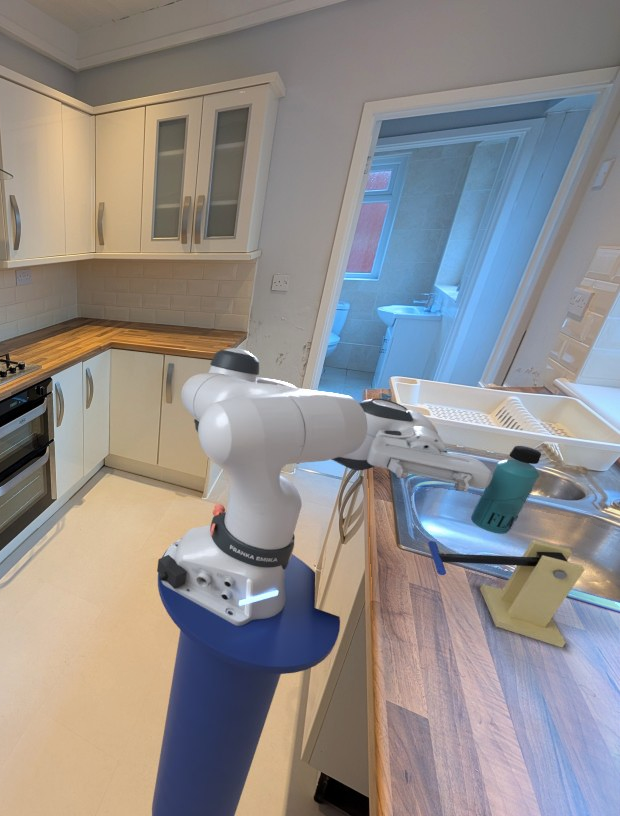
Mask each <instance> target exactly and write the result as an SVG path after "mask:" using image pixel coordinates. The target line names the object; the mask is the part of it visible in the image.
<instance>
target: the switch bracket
mask: <svg viewBox="0 0 620 816" xmlns="http://www.w3.org/2000/svg"><path fill="white" fill-rule="evenodd" d="M537 552H560V553H562V554H563V555H564V557H565V558H566V560H567V561H568V560H569V558H570V557H571V555H573V551H572V550H571V549H570V548H569V547H565V546H559V545H556V544H553V543H552V544H551V543H547V542H543V541H540V540H535V539H531V541H530V543H529V545H528V546H527V548H526V550H525V551H524V553H523V555H522V556H521V557H537ZM567 561H563V560H559V559H555V558H551V557H547V556H542V557H541V559H540V560H539V562H538V564H537V565H536V566H515V568H514V570H513V571H512V573H511V575H510V577H509V578H508V580H507V582H506V583H505V585H504V587H503V588H497V587H495V586H491V585H487V584H484V583H482V584H481V586H480V587H479V590H480V593H481V595H482V597H483V599H484V602H485V604H486V606H487V609H488V611H489V613H490V617H491V618H492V621H493V623H494V626H495V627H497V628H500V629H501V630H505V631H509V632H512V633H515V634H518V635H522V636H524V637H527V638H530V639H533V640H536V641H540V642H544V643H546V644H550V645H552V646H556V647H559V648H563V647H564V646H565V645H566V644H567V642H566V640H565V638H564V637H563V635H562V633H561V631H560V630H559V628H558V626H557V624H556V623H555V621H554V620H553V617H554V615H556V612H557V611H558V609H559V607H561V605H562V604H563V602H564V600H566V598H567V596H568V595H569V593H570V592H571V591H572V589H573V588H574V586H575V585H576V583H577V582H578V581H579V579H580V577H581V576H582V575H583V573H584V572H585V570H586V569H585V568H584V566H583V565H581V564H579V563H574V562H570V561H568V562H567Z"/></svg>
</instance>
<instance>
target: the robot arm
mask: <svg viewBox="0 0 620 816" xmlns="http://www.w3.org/2000/svg"><path fill="white" fill-rule="evenodd" d="M209 365H210V367H209V369H208V372H201V373H197V374H194V375H192V376H191V377H189V378H188V379H187V380H185V382H184V384H183V386H182V388H181V392H180V398H181V403H182V405H183V407H184V409H185V410H186V411H187V413H189V415H190V416H191V417H192V418H193V422H194V428H195V430H196V432H197V434H198V435H197V436H198V441H199V445H200V447H201V449H202V451H203V453H204V454H205V455H206V456H207V458H208V459H209V460H210V461H212V462H213V463H214V464H216V465H217V466H219V468H221V469H222V471H223V472H224V474H225V475H226V477H227V481H228V494H227V501H226V508H225V506H224V505H223V504H221V503H217V504H215V505H214V506H213V510H212V516H213V517H212V520H211V523H210V524H208V525H202V526H195V527H192V528H190V529H189V530H188V531H186V532H185V533H184V535H183V536H182V537H183V538H182V537H181V538H182V539H181V538H179V539H177V540H175V541H174V542H172V543H171V545H169V547H168V548H167V549H168V550H167V549H166V550H167V551H166V550H165V551H166V553H165V552H164V553H165V555H164V554H163V555H164V557H162V556H161V558H158V560H157V567H156V569H157V570H156V572H157V574H158V573H159V574H160V576H159V579H160V580H161V581H162V583H163V585H165V586H166V587H168V588H170V589H171V590H173V591H175V592H177V593H179V594H180V595H182V596H184V597H186V598H187V599H189V600H191V601H193V602H195V603H196V604H198V605H200V606H202V607H203V608H205V609H207V610H209V611H211V612H212V613H214V614H216V615H218V616H220V617H221V618H223V619H225V620H227V621H228V622H230V623H232V624H234V625H237V626H242V625H244V624H246V623H248V622H250V621H251V620H256V619H266V618H270V617H273V616H275V615H277V614H278V613H279V612H280V611H281V610H282V609H283V607H284V605H285V591H284V578H285V569H286V568H287V565H288V563H289V562H290V559H291V556H292V554H293V552H294V548H295V538H296V537H295V530H296V527H297V524H298V521H299V517H300V513H301V510H302V504H303V503H302V498H301V496H300V493H299V491H298V489H297V487H296V486H295V485H294V484H293V483H292V482H291V481H290V480H288V479H287V478H286V477H284V476H282V475H281V472H282V470H283V468H284V467H285V466H286V465H291V464H293V465H294V464H304V463H305V464H306V463H315V462H325V461H330V460H331V461H333V462H335V463H337V464H340V465H341V466H344V467H345V468H348V469H350V470H352V471H353V470H354V471H358V472H359V471H366V470H369V469H373V468H375V467H376V468H382V469H386V470H389V471H391V472H392V473H394V474H395V475H396V477H397V478H400V479H404V480H406V479H407V478H408V475H409V474H410V475H414V476H417V477H423V478H427V479H428V478H429V479H433V480H436V481H441V482H446V483H451V484H454V486H453V487H454V489H455V491H458V492H462V493H467V492H468V490H469V488H474V489H480V490H485V488H487V487H488V485H489V484H490V482H491V480H492V477H493V472H492V471H491V470H490V468H488V467H487V466H486V465H485V463H483V462H482V461H481V460H479V459H477V458H476V457H475V458H474V457H472V456H467V455H462V454H457V453H452V452H448V449H447V447H446V445H445V444H444V442H443V439H442V438H441V436H440V435H439V432H438V430H437V428H436V426H435V425H434V423H433V422H432V421H431V420H430V419H429V418H428V417H427V416H425V415H424V414H422V413H420V412H419V411H416V410H411V409H407V407H405V406H404V405H403V404H400V403H397V402H394V401H392V400H388V399H385V398H379V397H377V398H370V399H366V400H365V399H364V400H361V401H360V402H358V401H357V400H356V399H355V398H354V397H352V396H350V395H346V394H340V393H335V392H327V391H319V390H312V389H308V388H307V389H306V388H302V387H301V388H300V387H296V385H293V384H291V383H288V382H286V381H281V380H278V379H271V378H265V377H259V376H258V375H260V361H259V360H258V358H257V356H255V355H253V354H252V353H250V352H249V351H248V350H245V349H242V348H237V347H231V348H226V349H219V350H218V351H217V352H215V353H214V356H213V357H212V358H211V361H210V363H209ZM229 614H231V615H229Z"/></svg>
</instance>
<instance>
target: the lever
mask: <svg viewBox="0 0 620 816" xmlns="http://www.w3.org/2000/svg"><path fill="white" fill-rule="evenodd" d="M427 545H428V548H429V551H430V554H431V558H432V561H433V565H434V567H435V571H436V574H437V575H438V576H446V575H447V570H446V567H445V564H444V563H455V564H457V563H459V564H474V565H475V564H478V565H496V566H497V565H498V566H515V567H517V566H536V565H537V564H538V562H539V560H540V559H541V557H542V556H547V557H551V558H555V559H559V560H563V561H567V562H569V561H568V560H566V558H565V557H564V555H563V554H562V553H560V552H537V557H522V556H515V555H513V556H512V555H491V554H489V555H488V554H466V553H465V554H464V553H445V552H444V553H443V552H441V553H440V550H439V547H438V545H437V542H436V541H434V540H429V541H428V542H427Z"/></svg>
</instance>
